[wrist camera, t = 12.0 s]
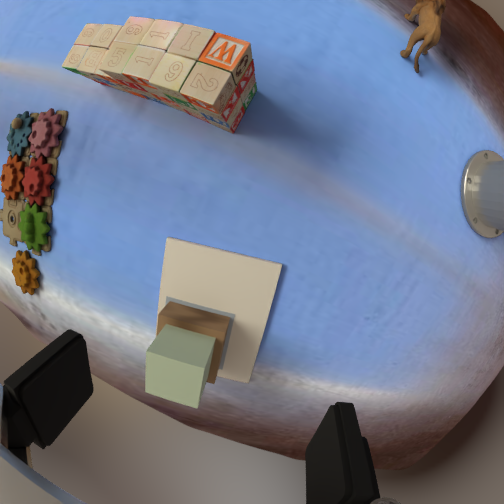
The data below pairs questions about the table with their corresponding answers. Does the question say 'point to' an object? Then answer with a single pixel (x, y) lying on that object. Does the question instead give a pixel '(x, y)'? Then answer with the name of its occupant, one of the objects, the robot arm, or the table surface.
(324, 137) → the table surface
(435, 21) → the lion figurine
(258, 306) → the cream flat board
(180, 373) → the sage block
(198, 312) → the walnut base block
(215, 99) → the stack of blocks
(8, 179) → the gear puzzle
